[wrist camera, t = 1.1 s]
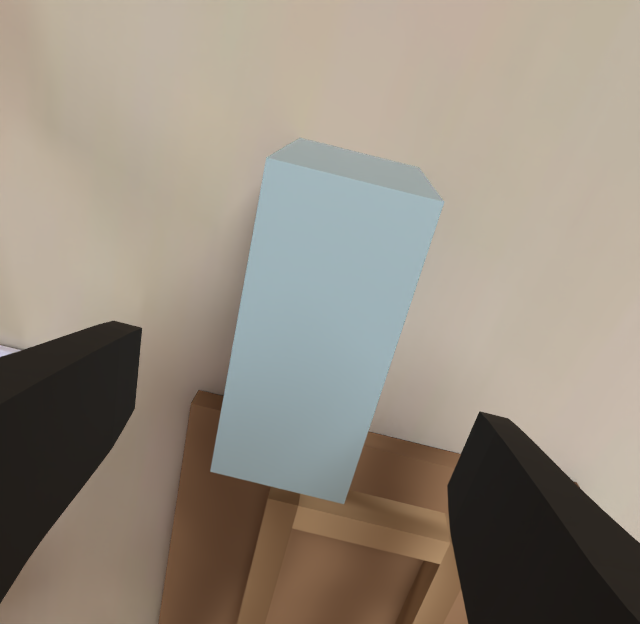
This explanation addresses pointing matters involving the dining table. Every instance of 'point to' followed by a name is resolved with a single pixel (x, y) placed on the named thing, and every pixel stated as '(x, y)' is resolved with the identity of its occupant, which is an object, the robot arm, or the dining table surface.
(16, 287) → the dining table surface
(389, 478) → the cradle
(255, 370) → the tall light blue prism
